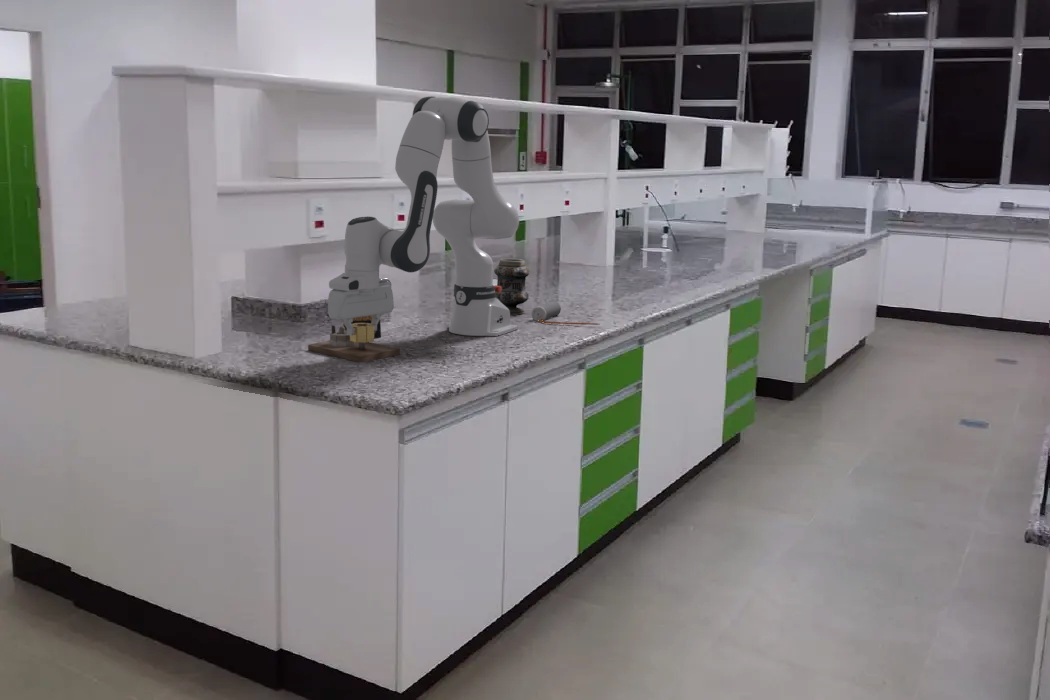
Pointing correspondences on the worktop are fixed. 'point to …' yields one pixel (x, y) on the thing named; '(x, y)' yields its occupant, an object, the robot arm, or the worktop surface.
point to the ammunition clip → (367, 320)
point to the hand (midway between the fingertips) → (362, 332)
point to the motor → (550, 313)
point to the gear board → (352, 348)
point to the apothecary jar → (512, 283)
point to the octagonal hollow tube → (363, 332)
